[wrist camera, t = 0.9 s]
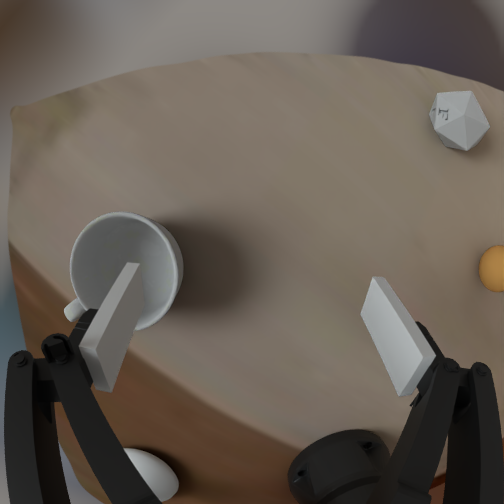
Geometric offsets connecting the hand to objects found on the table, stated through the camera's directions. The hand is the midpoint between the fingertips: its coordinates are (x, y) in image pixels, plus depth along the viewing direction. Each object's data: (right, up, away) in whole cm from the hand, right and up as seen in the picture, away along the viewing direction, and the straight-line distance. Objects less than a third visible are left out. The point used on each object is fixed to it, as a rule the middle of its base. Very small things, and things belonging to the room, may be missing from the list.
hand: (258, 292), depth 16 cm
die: (+27, +20, +17) cm, 37 cm away
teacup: (-14, 0, +16) cm, 21 cm away
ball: (+34, 0, +18) cm, 38 cm away
